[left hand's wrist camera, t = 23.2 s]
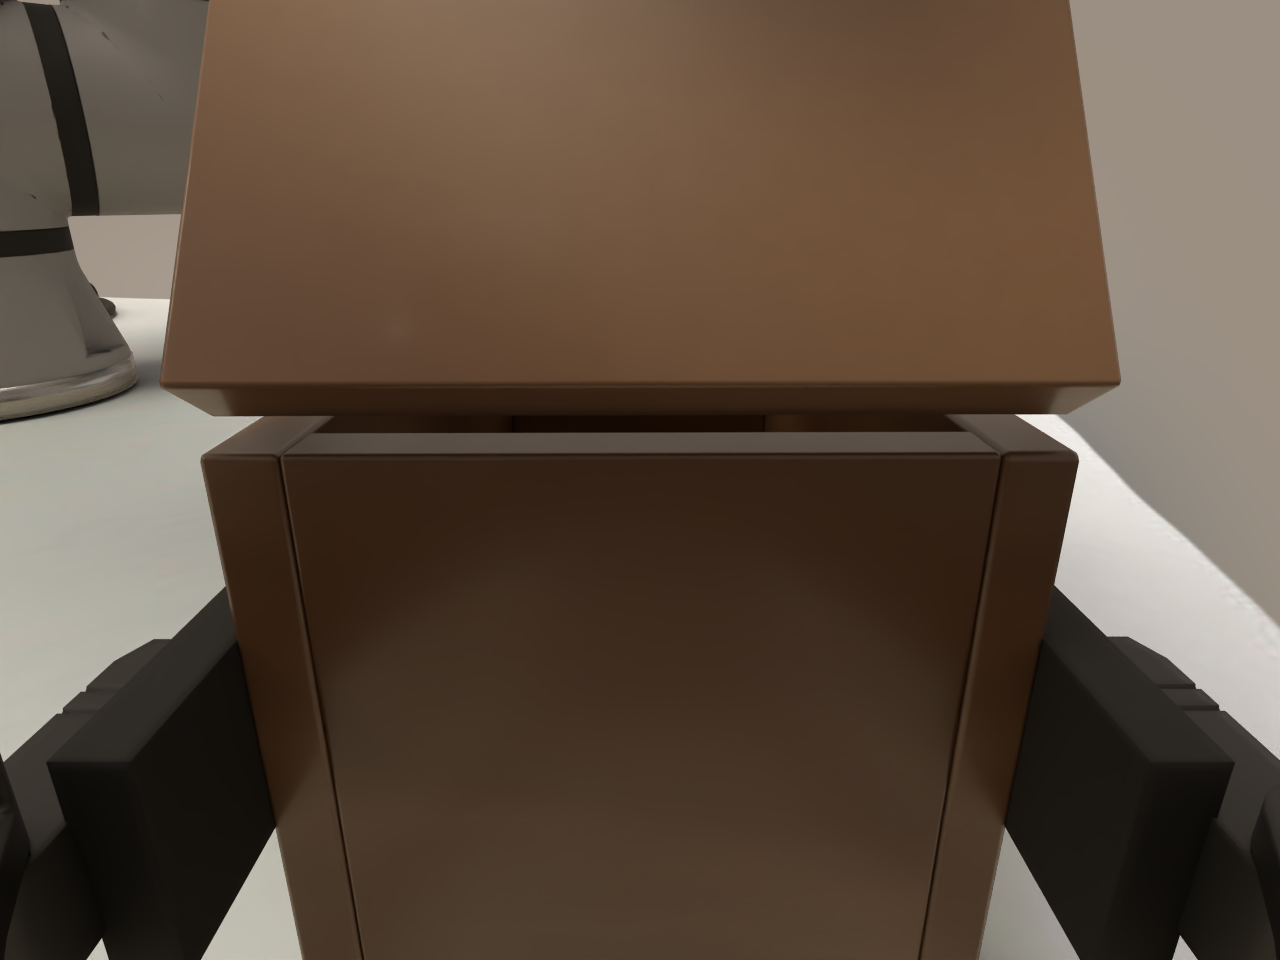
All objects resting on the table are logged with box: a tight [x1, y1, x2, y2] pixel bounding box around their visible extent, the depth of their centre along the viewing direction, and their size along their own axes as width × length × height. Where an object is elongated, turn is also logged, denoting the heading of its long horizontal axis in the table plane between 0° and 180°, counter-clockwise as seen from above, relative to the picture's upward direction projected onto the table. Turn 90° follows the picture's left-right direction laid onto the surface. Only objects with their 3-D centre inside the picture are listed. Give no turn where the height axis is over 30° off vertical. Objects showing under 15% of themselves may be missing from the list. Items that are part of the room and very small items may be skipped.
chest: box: [201, 414, 1079, 960], centre depth 17 cm, size 16×9×10 cm, turn 0°
